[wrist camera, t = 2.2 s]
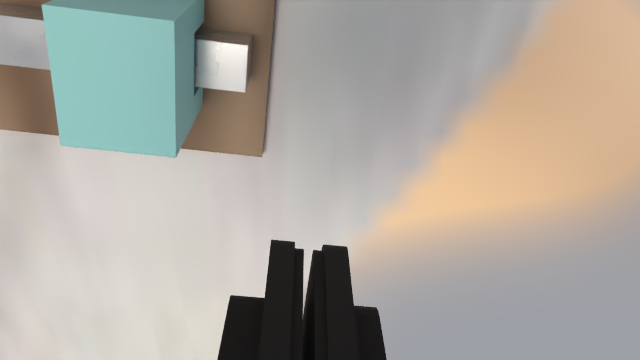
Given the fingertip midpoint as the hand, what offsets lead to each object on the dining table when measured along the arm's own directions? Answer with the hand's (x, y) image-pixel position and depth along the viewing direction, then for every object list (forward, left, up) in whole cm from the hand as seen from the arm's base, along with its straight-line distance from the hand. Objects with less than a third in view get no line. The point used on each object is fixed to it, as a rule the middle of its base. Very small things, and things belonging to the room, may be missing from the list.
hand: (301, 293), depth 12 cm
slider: (+8, 0, -18) cm, 20 cm away
